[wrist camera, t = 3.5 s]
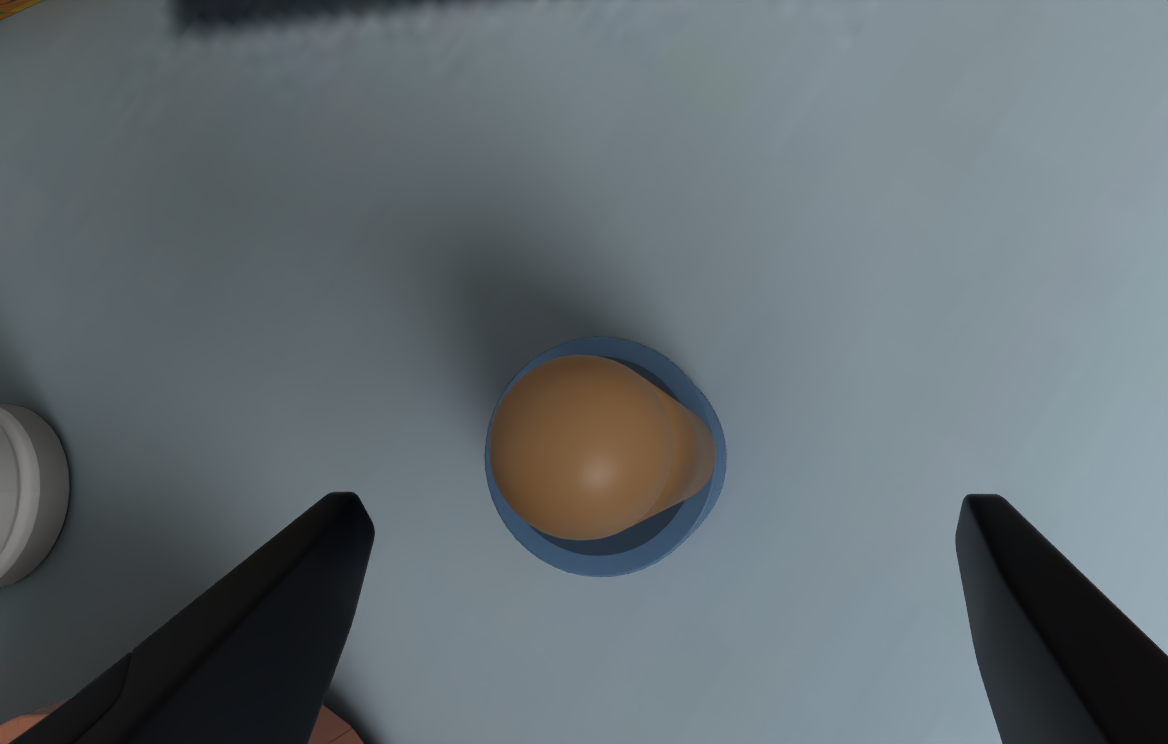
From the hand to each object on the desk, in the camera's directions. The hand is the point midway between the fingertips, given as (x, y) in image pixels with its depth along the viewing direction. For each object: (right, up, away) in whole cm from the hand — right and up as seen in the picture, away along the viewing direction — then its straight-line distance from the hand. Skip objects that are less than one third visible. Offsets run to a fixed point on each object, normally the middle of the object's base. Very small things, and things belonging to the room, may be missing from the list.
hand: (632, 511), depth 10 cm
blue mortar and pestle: (0, 0, +9) cm, 9 cm away
